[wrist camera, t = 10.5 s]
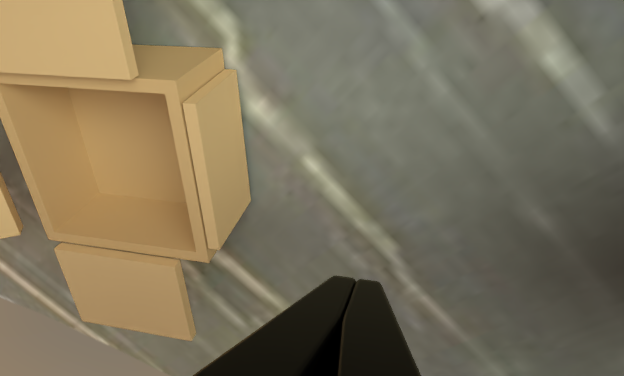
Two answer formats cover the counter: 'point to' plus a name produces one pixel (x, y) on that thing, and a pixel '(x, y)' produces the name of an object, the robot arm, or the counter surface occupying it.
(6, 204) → the back flap
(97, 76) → the carton
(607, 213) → the counter surface
